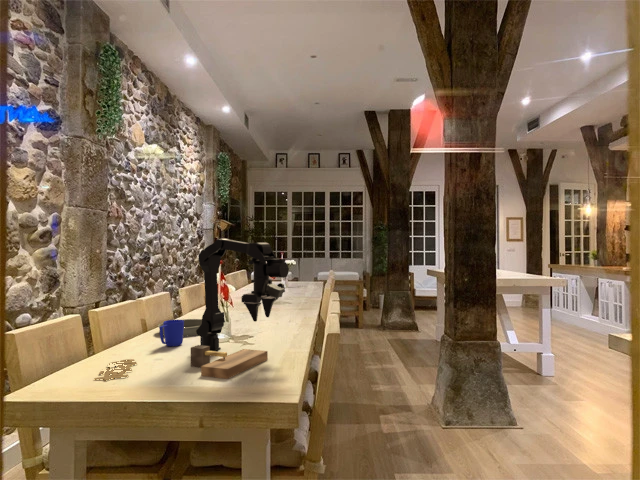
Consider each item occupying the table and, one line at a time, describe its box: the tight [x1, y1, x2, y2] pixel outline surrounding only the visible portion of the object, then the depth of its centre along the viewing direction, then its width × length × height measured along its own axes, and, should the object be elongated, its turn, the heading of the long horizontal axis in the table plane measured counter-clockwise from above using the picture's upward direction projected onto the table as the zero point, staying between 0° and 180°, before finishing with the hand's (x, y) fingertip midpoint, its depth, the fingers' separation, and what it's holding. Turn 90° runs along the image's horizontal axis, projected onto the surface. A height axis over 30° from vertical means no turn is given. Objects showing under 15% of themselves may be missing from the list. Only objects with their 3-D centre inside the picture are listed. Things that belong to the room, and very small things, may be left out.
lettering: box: [93, 358, 138, 381], centre depth 155 cm, size 25×10×1 cm, turn 12°
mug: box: [158, 319, 184, 347], centre depth 190 cm, size 8×12×10 cm
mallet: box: [190, 344, 228, 369], centre depth 157 cm, size 13×4×6 cm, turn 67°
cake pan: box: [157, 318, 202, 337], centre depth 221 cm, size 25×25×4 cm
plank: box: [200, 348, 269, 380], centre depth 156 cm, size 10×25×3 cm, turn 157°
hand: (261, 319), depth 169 cm, fingers open, 9 cm apart
